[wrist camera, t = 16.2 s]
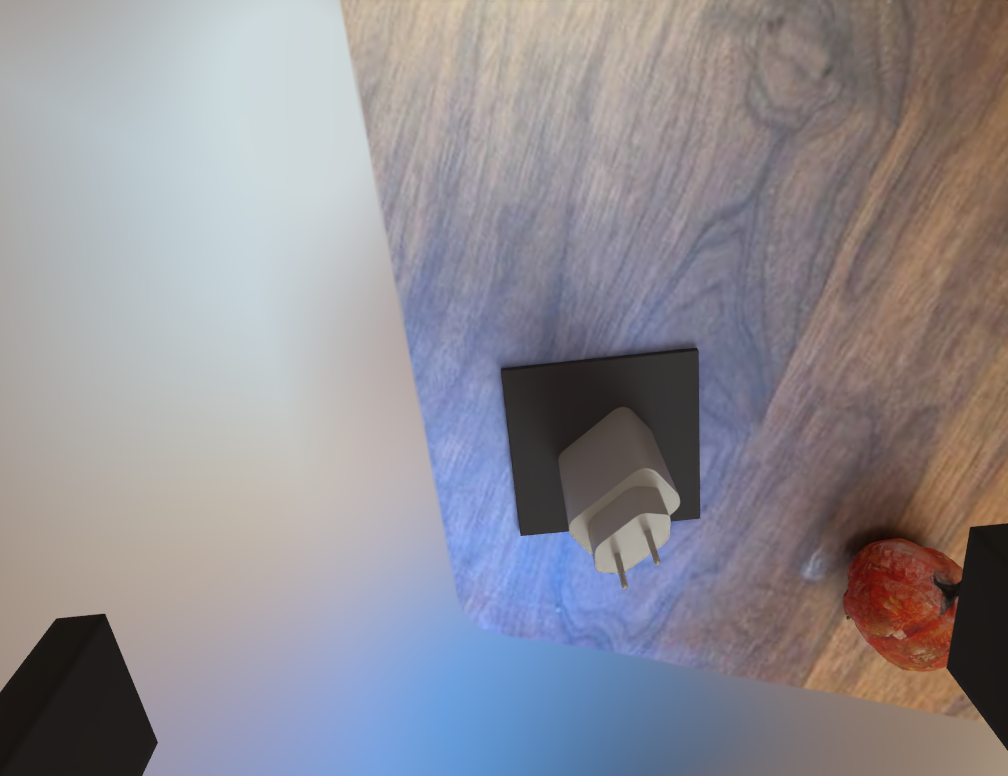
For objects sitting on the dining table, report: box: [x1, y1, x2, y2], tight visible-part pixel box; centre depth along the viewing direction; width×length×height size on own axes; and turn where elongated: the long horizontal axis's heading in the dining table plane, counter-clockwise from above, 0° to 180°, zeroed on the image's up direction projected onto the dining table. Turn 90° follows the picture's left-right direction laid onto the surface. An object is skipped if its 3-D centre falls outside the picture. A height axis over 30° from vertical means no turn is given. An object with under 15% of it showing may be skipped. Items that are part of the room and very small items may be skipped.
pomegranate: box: [843, 538, 963, 672], centre depth 45 cm, size 7×7×10 cm
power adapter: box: [558, 407, 680, 589], centre depth 39 cm, size 3×5×12 cm, turn 133°
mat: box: [501, 348, 700, 536], centre depth 45 cm, size 11×11×1 cm
